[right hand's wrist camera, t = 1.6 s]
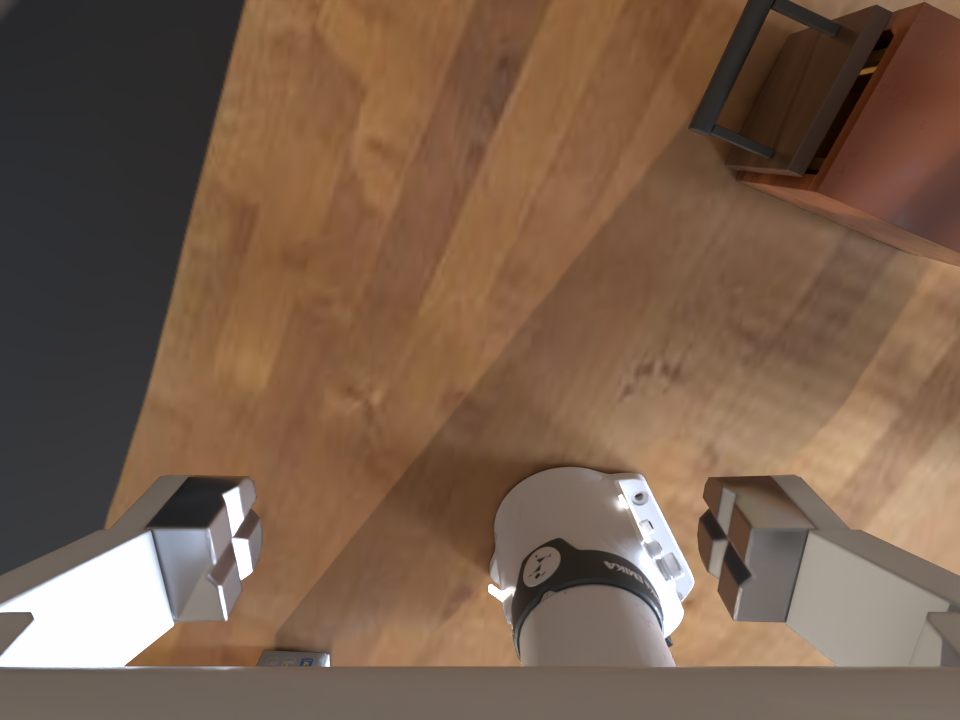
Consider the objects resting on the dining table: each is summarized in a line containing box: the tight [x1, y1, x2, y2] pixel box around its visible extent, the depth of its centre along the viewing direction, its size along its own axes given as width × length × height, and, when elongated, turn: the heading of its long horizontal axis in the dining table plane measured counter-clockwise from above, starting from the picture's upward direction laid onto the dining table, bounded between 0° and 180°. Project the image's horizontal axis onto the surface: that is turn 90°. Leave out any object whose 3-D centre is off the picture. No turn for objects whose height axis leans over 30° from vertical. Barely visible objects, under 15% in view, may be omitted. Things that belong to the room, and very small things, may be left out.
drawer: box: [689, 0, 893, 177], centre depth 39 cm, size 21×10×10 cm, turn 69°
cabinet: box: [736, 2, 960, 266], centre depth 40 cm, size 17×11×12 cm, turn 69°
